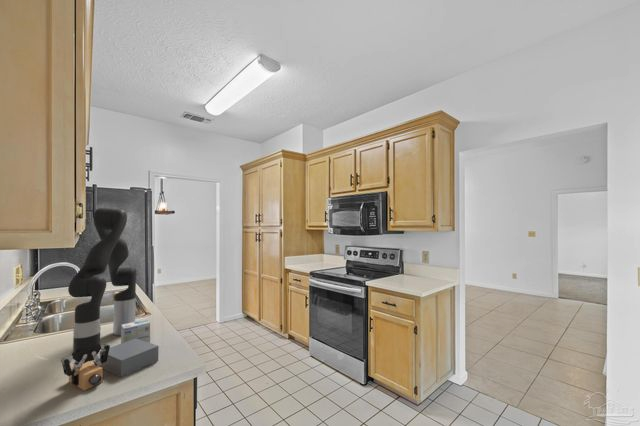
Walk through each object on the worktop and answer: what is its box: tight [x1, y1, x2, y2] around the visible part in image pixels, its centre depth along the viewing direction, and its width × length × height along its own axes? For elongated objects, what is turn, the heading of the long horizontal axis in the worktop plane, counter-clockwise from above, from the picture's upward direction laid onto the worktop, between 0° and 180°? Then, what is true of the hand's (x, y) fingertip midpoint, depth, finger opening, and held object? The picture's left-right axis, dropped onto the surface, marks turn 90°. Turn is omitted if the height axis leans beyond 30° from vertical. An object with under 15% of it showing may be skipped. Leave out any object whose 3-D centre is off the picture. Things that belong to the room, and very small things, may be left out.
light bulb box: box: [120, 318, 151, 344], centre depth 131 cm, size 11×7×11 cm, turn 135°
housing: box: [68, 361, 104, 391], centre depth 102 cm, size 13×6×5 cm, turn 62°
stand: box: [99, 338, 160, 378], centre depth 116 cm, size 16×14×6 cm
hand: (86, 380), depth 102 cm, fingers closed on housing, 5 cm apart
